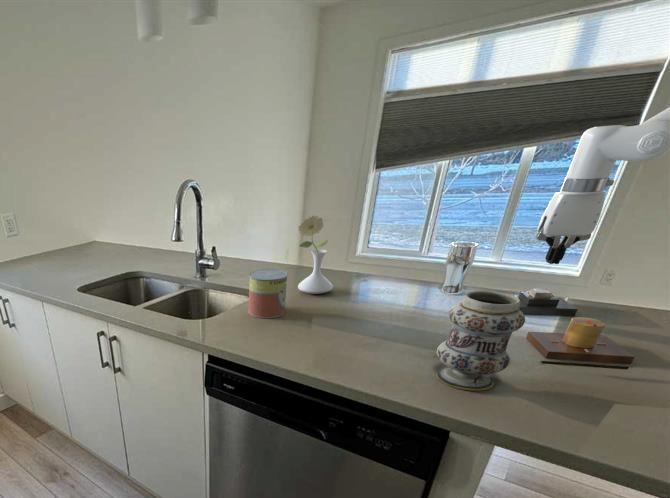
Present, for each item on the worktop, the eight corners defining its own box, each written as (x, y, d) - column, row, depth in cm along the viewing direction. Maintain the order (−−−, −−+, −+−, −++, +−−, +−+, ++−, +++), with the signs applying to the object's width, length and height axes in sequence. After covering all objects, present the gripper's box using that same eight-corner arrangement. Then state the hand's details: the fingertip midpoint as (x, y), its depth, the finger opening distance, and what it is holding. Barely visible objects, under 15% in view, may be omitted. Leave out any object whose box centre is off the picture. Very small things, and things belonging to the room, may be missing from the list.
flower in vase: (333, 287, 143) (343, 211, 131) (330, 297, 134) (341, 217, 122) (295, 285, 148) (301, 213, 136) (290, 295, 139) (296, 218, 127)
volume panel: (599, 347, 92) (605, 334, 90) (627, 369, 83) (635, 356, 82) (523, 343, 97) (528, 330, 95) (543, 363, 88) (548, 350, 86)
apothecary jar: (509, 379, 84) (544, 295, 75) (484, 401, 78) (518, 313, 69) (445, 361, 92) (469, 283, 83) (419, 378, 87) (441, 298, 78)
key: (544, 295, 112) (546, 288, 111) (549, 299, 109) (552, 292, 108) (528, 294, 113) (530, 288, 112) (533, 298, 110) (535, 292, 109)
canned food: (278, 320, 121) (281, 280, 115) (243, 315, 127) (243, 278, 121) (289, 307, 129) (292, 270, 123) (255, 304, 135) (256, 268, 129)
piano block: (557, 304, 115) (563, 290, 113) (574, 317, 107) (581, 302, 105) (497, 302, 119) (502, 289, 117) (509, 314, 111) (514, 300, 109)
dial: (557, 337, 91) (567, 315, 89) (586, 338, 90) (597, 316, 87) (568, 347, 87) (579, 324, 84) (599, 348, 85) (611, 325, 83)
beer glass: (434, 293, 130) (447, 245, 123) (441, 287, 134) (454, 240, 126) (459, 296, 125) (474, 247, 118) (466, 290, 129) (481, 242, 122)
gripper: (614, 182, 98) (581, 259, 107) (538, 186, 103) (512, 259, 112) (633, 186, 92) (596, 266, 101) (551, 189, 97) (522, 266, 106)
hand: (552, 262), depth 106 cm, fingers closed
